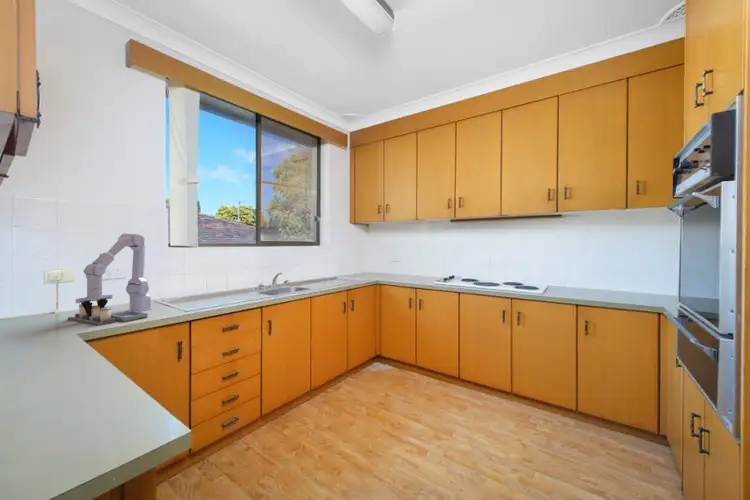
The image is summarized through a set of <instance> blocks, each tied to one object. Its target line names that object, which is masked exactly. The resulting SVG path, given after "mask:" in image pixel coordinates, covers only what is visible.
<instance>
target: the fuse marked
mask: <svg viewBox="0 0 750 500" xmlns="http://www.w3.org/2000/svg"><path fill="white" fill-rule="evenodd" d="M94 317H100V305H97V304H96V305H92V308H91V316H90V317H89V320H90V321H93V318H94Z"/></svg>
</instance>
